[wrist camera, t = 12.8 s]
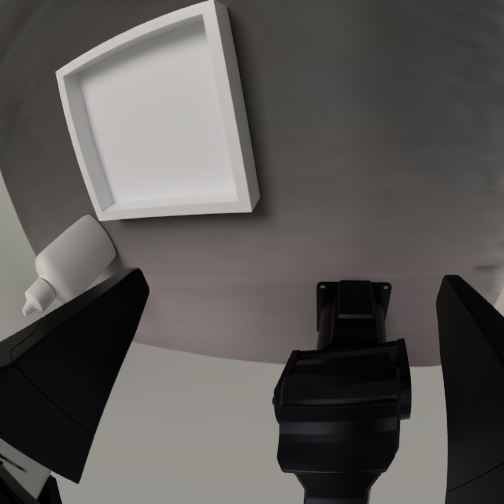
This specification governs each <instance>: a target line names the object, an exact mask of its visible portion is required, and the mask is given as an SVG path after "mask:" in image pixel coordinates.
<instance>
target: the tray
mask: <svg viewBox="0 0 504 504" xmlns="http://www.w3.org/2000/svg"><path fill="white" fill-rule="evenodd" d="M56 76H57V81H58V86H59V91H60V96H61V100H62V105H63V109H64V113H65V117H66V121H67V125H68V129H69V132H70V136H71V140H72V143H73V147H74V150H75V153H76V156H77V160H78V163H79V166H80V169H81V172H82V175H83V178H84V181H85V184H86V187H87V190H88V193H89V195H90V198H91V201H92V203H93V206H94V209H95V211H96V214H97V216H98V219H99V221H105V220H117V219H130V218H143V217H158V216H174V215H192V214H213V213H237V212H252V211H253V209H254V207H255V206H256V204H257V202H258V200H259V198H260V193H259V187H258V181H257V174H256V168H255V162H254V156H253V150H252V144H251V138H250V132H249V126H248V120H247V114H246V109H245V103H244V97H243V91H242V86H241V80H240V74H239V69H238V63H237V58H236V52H235V47H234V41H233V36H232V31H231V25H230V20H229V15H228V10H227V6H225V5H223V4H221V3H219V2H217V1H216V0H209V1H206V2H202V3H199V4H195V5H192V6H189V7H186V8H183V9H180V10H177V11H174V12H172V13H169V14H166V15H164V16H161V17H158V18H156V19H153V20H151V21H148V22H146V23H144V24H141V25H139V26H137V27H135V28H132V29H130V30H128V31H126V32H124V33H122V34H120V35H118V36H116V37H114V38H112V39H110V40H108V41H106V42H104V43H102V44H100V45H99V46H97V47H95V48H93V49H91V50H90V51H88V52H86V53H85V54H83V55H81V56H80V57H78V58H76V59H75V60H73V61H72V62H70V63H68V64H67V65H65V66H64V67H62V68H61V69H59V70H58V71H56Z"/></svg>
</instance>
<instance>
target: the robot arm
mask: <svg viewBox="0 0 504 504" xmlns="http://www.w3.org/2000/svg"><path fill="white" fill-rule="evenodd" d="M320 285H324V286H325V288H320ZM384 286H388V289H383V287H384ZM390 293H391V284H390V283H387V282H370V281H359V280H341V281H339V282H319V283H318V284H317V331H318V332H319V335H318V343H317V350H308V351H300V350H293V351H292V353H291V355H290V358H289V359H288V361H287V364H286V366H285V368H284V370H283V373H282V375H281V377H280V379H279V381H278V384H277V385H276V387H275V390H274V397H273V399H272V403H273V405H274V410H275V416H276V419H277V422H278V423H279V426H280V427H279V430H280V431H279V433H280V434H279V445H278V452H277V460H278V463H279V465H280V467H281V470H282V471H283V472H285V473H294V474H295V475H296V477H297V478H298V480H299V482H300V483H301V484H302V486H303V488H304V490H305V493H304V504H369V499H370V491H371V486H372V485H373V484H374V482H375V481H376V480H377V479H378V477H379V476H380V475H381V473H383V472H385V471H386V470H387V469H388V467H389V466H390V464H391V462H392V461H393V459H394V457H395V454H396V453H397V451H398V448H399V435H400V420H404V419H409V418H410V414H411V376H410V368H409V362H408V356H407V350H406V345H405V339H404V338H402V339H397V341H391V342H386V331H385V318H386V313H387V308H388V304H389V299H390ZM148 296H149V286H148V284H147V282H146V279H145V277H144V275H143V273H142V271H141V270H140V269H139V268H133V267H129V268H126V269H125V270H123V271H121V272H119V273H117V274H116V275H114V276H112V277H110V278H109V279H107V280H105V281H103V282H101V283H100V284H98V285H96V286H94V287H93V288H91V289H89V290H87V291H86V292H84V293H82V294H81V295H79V296H77V297H75V298H74V299H72V300H70V301H69V302H67V303H65V304H64V305H62V306H60V307H59V308H57V309H55V310H54V311H52V312H50V313H49V314H47V315H45V316H44V317H42V318H40V319H39V320H37V321H36V322H34V323H32V324H31V325H29V326H27V327H26V328H24V329H22V330H20V331H19V332H17V333H15V334H13V335H12V336H10V337H8V338H6V339H4V340H3V341H1V342H0V504H62V502H61V498H60V494H59V490H58V486H57V481H56V478H54V477H53V476H52V475H51V474H50V473H51V471H53V472H55V473H57V474H59V475H61V476H63V477H65V478H67V479H69V480H71V481H73V482H75V483H77V484H79V481H80V479H81V476H82V473H83V470H84V467H85V463H86V460H87V457H88V454H89V451H90V448H91V445H92V442H93V439H94V435H95V433H96V430H97V427H98V425H99V422H100V419H101V416H102V414H103V411H104V408H105V406H106V403H107V400H108V398H109V395H110V393H111V390H112V387H113V385H114V383H115V380H116V378H117V375H118V373H119V371H120V368H121V366H122V363H123V361H124V359H125V356H126V354H127V351H128V349H129V347H130V345H131V342H132V340H133V338H134V335H135V333H136V330H137V327H138V325H139V322H140V319H141V316H142V313H143V310H144V307H145V304H146V301H147V299H148ZM436 309H437V318H438V330H439V344H440V357H441V365H442V372H443V379H444V388H445V399H446V411H447V433H448V469H447V488H446V491H447V492H446V498H445V504H504V317H503V316H502V315H501V314H500V313H499V312H498V311H497V310H496V309H495V308H494V307H493V306H492V305H491V304H490V303H489V302H488V301H487V300H486V299H485V298H483V297H482V296H481V295H480V294H479V293H478V292H477V291H476V290H475V289H474V288H472V287H471V286H470V285H469V284H468V283H467V282H466V281H464V280H463V279H462V278H461V277H460V276H458V275H445V276H444V277H443V280H442V283H441V286H440V290H439V293H438V296H437V300H436Z"/></svg>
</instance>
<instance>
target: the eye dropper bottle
mask: <svg viewBox="0 0 504 504" xmlns="http://www.w3.org/2000/svg"><path fill="white" fill-rule="evenodd" d="M115 256H116V252H115V248H114V246H113V243H112V241H111V239H110V237H109V236H108V234H107V232H106V231H105V229H104V228H103V227H102V226H101V224H100V223H99V222H98V221H97V220H96V219H95V218H94V217H93V216H91V215H85V216H83V217H82V218H81V219H79V220H78V221H77V222H75V223H74V224H73V225H72V226H70V227H69V228H68V229H67V230H66V231H64V232H63V233H62V234H61V235H60V236H59V237H57V238H56V239H55V240H54V241H53V242H52V243H51V244H49V245H48V246H47V247H46V248H45V249H44V250H43V251H42V252H41V253H40V254H39V255H38V256H37V257H36V261H35V264H36V270H37V273H38V276H39V278H38V279H37V280H36V281H35V282H34V283H33V284H32V286H30V288H29V289H28V290H27V291H26V292H25V296H26V299H27V301H26V304H25V306H24V307H23V309H22V312H23V314H24V315H25V316H28V315H29V314H31V313H32V312H33V311H38V312H40V313H43V312H44V311H45V310H46V308H47V307H48V306H49V305H50V304H51V302H52V301H53V300H54V299H55V298H56V299H58V300H59V301H61V302H63V303H67V302H69V301H70V300H72V299H74V298H75V297H77V296H79V295H81V294H82V293H84V291H85V290H86V289H87V288H88V287H89V286H90V285H91V283H92V282H93V281H94V280H95V279H96V278H97V277H98V276H99V275H100V273H101V272H102V271H103V270H104V269H105V268H106V267H107V266H108V265H109V264H110V263H111V262H112V260H113V259H114V258H115Z"/></svg>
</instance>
